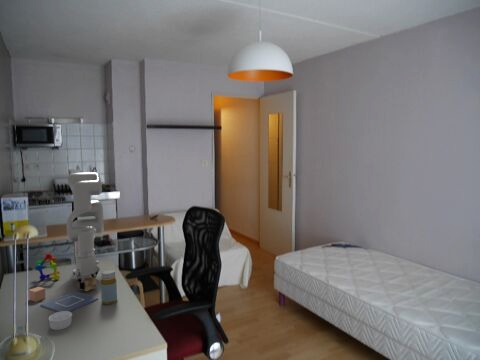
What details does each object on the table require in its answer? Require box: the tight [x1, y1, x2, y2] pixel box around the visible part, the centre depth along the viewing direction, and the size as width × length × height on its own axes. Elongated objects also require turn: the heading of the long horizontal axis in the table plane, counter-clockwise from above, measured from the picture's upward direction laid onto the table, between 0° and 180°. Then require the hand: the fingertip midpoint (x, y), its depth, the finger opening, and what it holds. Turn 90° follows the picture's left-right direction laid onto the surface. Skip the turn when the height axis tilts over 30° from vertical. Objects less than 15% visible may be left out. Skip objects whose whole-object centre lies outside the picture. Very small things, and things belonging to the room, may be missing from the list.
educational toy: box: [35, 253, 60, 281], centre depth 203 cm, size 16×13×15 cm
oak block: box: [78, 275, 97, 292], centre depth 188 cm, size 6×6×5 cm
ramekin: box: [48, 311, 73, 331], centre depth 150 cm, size 9×9×4 cm
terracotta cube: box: [28, 286, 46, 303], centre depth 177 cm, size 5×5×5 cm
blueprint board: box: [40, 290, 99, 313], centre depth 173 cm, size 18×18×1 cm
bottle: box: [100, 269, 118, 305], centre depth 173 cm, size 7×7×15 cm
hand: (87, 286), depth 188 cm, fingers closed on oak block, 6 cm apart
